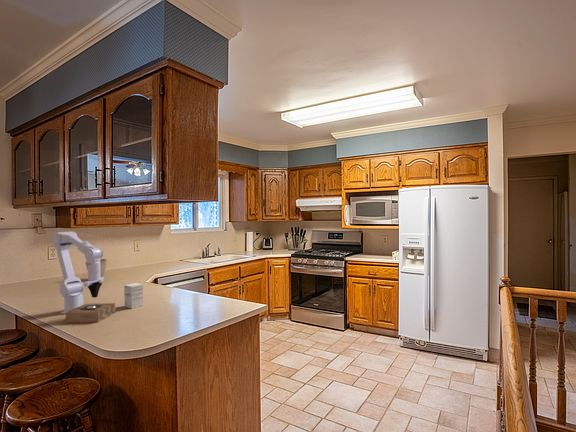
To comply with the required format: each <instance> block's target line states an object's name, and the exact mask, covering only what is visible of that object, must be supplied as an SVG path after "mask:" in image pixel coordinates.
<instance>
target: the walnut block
mask: <svg viewBox="0 0 576 432" xmlns="http://www.w3.org/2000/svg"><path fill="white" fill-rule="evenodd" d="M88 306H96V307H94V308H87V307H88ZM115 313H116V303H115V302H106V303H105V302H104V303H103V302H102V303H84V305H81V306H79V307H77V308H75V309H73V310H70V311H68V312H66V313H65V323H66V324H67V323H69V324H71V323H72V324H73V323H75V324H76V323H77V324H78V323H81V324H82V323H100V322H101V321H104V320H105V319H107V318H108V317H111V316H112V315H114V314H115Z"/></svg>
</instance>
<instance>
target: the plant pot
mask: <svg viewBox="0 0 576 432" xmlns="http://www.w3.org/2000/svg"><path fill="white" fill-rule="evenodd" d="M107 262H108V261H107V259H105V258H104V259H103V258H102V259H101V258H100V272H101V277H104V275H105V271H106V267H107ZM85 266H86V270H87V271H88V263H87V262H86V261H85Z"/></svg>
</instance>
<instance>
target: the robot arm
mask: <svg viewBox="0 0 576 432" xmlns="http://www.w3.org/2000/svg"><path fill="white" fill-rule="evenodd" d="M51 238H52V239H51V241H52V244H53V248H54V249H55V250H56V254H57V258H58V262H59V265H60V269H61V273H62V277H63V280H62V281H61V282H60V283H59V293H60V295H61V296H62V297H64V299H63V302H64V303H63V304H64V307H63V309H64V310H63V311H61V312H60V314H63V315H64V314H66V312H68V311H70V310H73V309H75V308H77V307H79V306H81V305H84V304H85V302H84V301H85V298H84V295H83V294H82V292H83V291H84V287H87V288H88V290H89V291H90V292H89V293H90V295H91V298H98V295H99V292H100V288H101V287H102V285H103V283H102V282H104V281H105V277H104V276H103V277H101V272H100V259H101V258H103V255H104V252H103V250H102V248H101V247H95V246H94V245H92V243H90V242H89V241H83V240H82V239H81V238H80V237H78V235H77V233H76V232H75V231H72V230H71V231H60V232H57V231H56V232H54V233H53V236H52V237H51ZM73 245H74V246H75V247H77V250H78V251H79V252H80V253H82V254H83V255H84V258H85V263H86V262H87V263H88V270H87V280H86V281H84V282H82V280H81V278H79V277H78V276H75V275H76V273H75V271H74V267H73V263H72V260H71V255H70V253H69V249H70V248H72V246H73Z"/></svg>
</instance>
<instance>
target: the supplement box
mask: <svg viewBox="0 0 576 432" xmlns="http://www.w3.org/2000/svg"><path fill="white" fill-rule="evenodd" d="M143 306H144V284H143V283H137V282H134V283H128V284H124V307H125V308H129V309H131V310H133V309H136V308H141V307H143Z"/></svg>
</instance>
